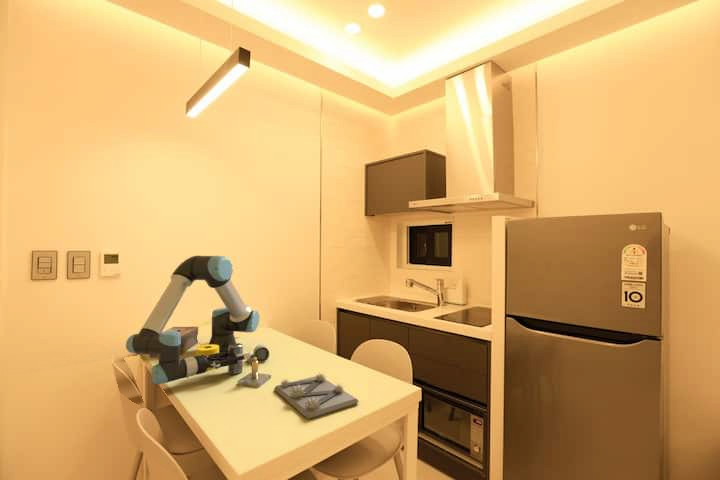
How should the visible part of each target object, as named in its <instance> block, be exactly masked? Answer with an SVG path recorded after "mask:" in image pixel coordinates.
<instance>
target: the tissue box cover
mask: <svg viewBox="0 0 720 480" xmlns="http://www.w3.org/2000/svg"><path fill="white" fill-rule="evenodd" d="M166 331H178V332H180V338H181V350H180V356H181V355H183V354H184V353H186V352H187V351H188V350H190V349H192V348H193V347H194V346H196V345H197V344H198V343H199V339H198V340H197V335H198V336H199V326H172V327H170V328H168V329H166V330H165V331H163V332H166ZM149 358H159V356H157V355H149Z"/></svg>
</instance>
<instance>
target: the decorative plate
mask: <svg viewBox="0 0 720 480" xmlns="http://www.w3.org/2000/svg"><path fill="white" fill-rule="evenodd" d="M318 373H319V374H318ZM318 373H316V374H315V376H311V377H306V378H302V379H298V380H294V381H290V380H289V379H287V378H284V379H282V380H281V382H280V384H278V385H276V386H275V387H274V388H273V390H274V391H275V392H276V393H278V395H280V396H282V398H283V399H284V400H285V401H287V402H288V403H289V404H290V405H291V406H293V407H294V408H295V409H296V411H298V412H299V413H301V415H303V416H304V417H305V418H306V419H308V420H312V419H315V418H317V417H321V416H324V415H327V414H330V413H334V412H336V411H340V410H343V409H345V408H349V407H353V406H355V405H358V403H359V400H358V398H356V397H354V396H353V395H351V394H350V393H348V392H347V391H345V390H344V386H343V385H342V384H339V383H336V384H335V383H332V382H330V381H329V380H327V378H326V377H327V375H326V376H325V374H324V372H318Z"/></svg>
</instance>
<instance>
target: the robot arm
mask: <svg viewBox="0 0 720 480" xmlns="http://www.w3.org/2000/svg"><path fill="white" fill-rule="evenodd" d="M233 270H234V269H233V264H232V262H231V260H230V259H229V258H228V257H226V256H222V255H193V256H190V257H188V258H186V259H185V260H184V261H183V262H181V263H180V264H179V265H178V266H177V267H176V268H175V269H174V271H173V272H172V274H171V276H170V281H169V283H168V285H167V286H166V288H165V289H164V291H163V293H162V295H161V296H160V298H159V300H158V301H157V303H156V304H155V306H154V308H153V309H152V311H151V313H150V314H149V315H148V317H147V319H146V321H145V323H144V324H143V325H142V326H141V329H140V330H139V332H138V333H134V334H132V335H130V336H129V337H128V338H127V339H126V342H125V349H126V350H127V352H128V353H130V354H136V355H149V356H150V355H157V356H159V357H158V363H156V364H154V365H153V366H152V367H151V371H150V374H151V376H150V377H151V381H152V383H153V384H155V385H162V384H165V383H167V384H168V383H170V382H175V381H178V380H181V379H185V378H186V379H189V377H192V376H193V377H194V376H195V375H196V376H197V375H201V374H204V373H206V372H207V371H206V370H207V368H213V367H215V369H214V370H218V369H220V368H224V367H228V366H229V365H233V364H237V363H238V361H242V360H243V361H245V360H246V361H247V359H250V355H251V352H250V351H247V352H245V353H244V352H243V354H239V355H236V356H234V357H228V349H229V345H231V344H236V343H237V341H236V337H235V332H237V333H238V332H239V333H254V332H255V331H256V330H257V328H258V327H259V322H260V314H259V312H258V311H257V310H252V308H251V307H250V306H249V305H248V304H245V302H244V300H243V298H242V297H241V295H240V293H239V291H238V289H237V288H236V285H234V283H233V281H232V275H233ZM195 281H204V282H206V284H207V285H208V287H210V288H211V289H214V290H215V292H216V293H217V295H218V297H219V298H220V300H221V302H222V303H223V305H224V306H225V307H220V308H216V309H213V311H212V314H211V337H210V340H209V343H208V345H210V344H214V345H219V353H215V354H211V355H206V356H204V355H199V356H196V355H195V356H190V357H185V358H181V355H180V350H181V338H180V332H178V331H166V330H165V331H166V332H164V331H163V330H164V329H165V327H166V325H167V323H168V322H169V320H170V318H171V317H172V315H173V313H174V311H175V309H176V308H177V306H178V304H179V303H180V302H181V299H182V297H183V296H184V294H185V292H186V290H187V288H189V287H191V286H192V284H193V283H194V282H195Z"/></svg>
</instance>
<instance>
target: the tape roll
mask: <svg viewBox="0 0 720 480" xmlns="http://www.w3.org/2000/svg"><path fill="white" fill-rule="evenodd" d="M195 350H196V351H195V356H199V355H204V356H206V355H211V354H215V353H219V345H214V344H210V345H209V344H202V345H200V346H197V347H196V348H195ZM212 370H216V369H215V367H213V368H207V370H206V372H208V371H212Z"/></svg>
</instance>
